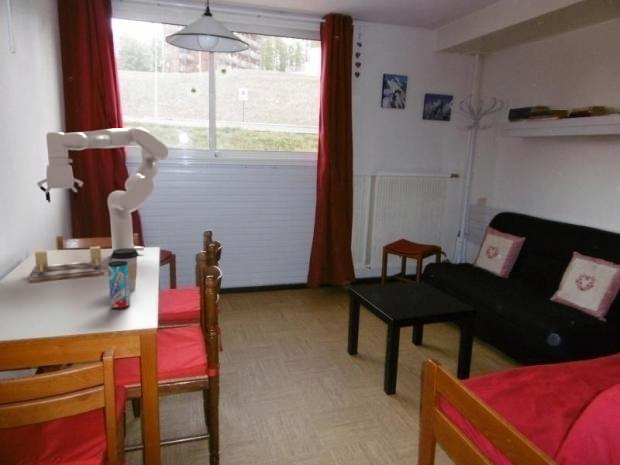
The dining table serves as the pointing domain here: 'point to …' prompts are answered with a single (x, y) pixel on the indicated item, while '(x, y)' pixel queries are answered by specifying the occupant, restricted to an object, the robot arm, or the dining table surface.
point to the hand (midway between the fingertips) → (62, 201)
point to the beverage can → (119, 284)
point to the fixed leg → (95, 255)
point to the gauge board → (66, 271)
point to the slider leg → (41, 259)
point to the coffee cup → (131, 258)
